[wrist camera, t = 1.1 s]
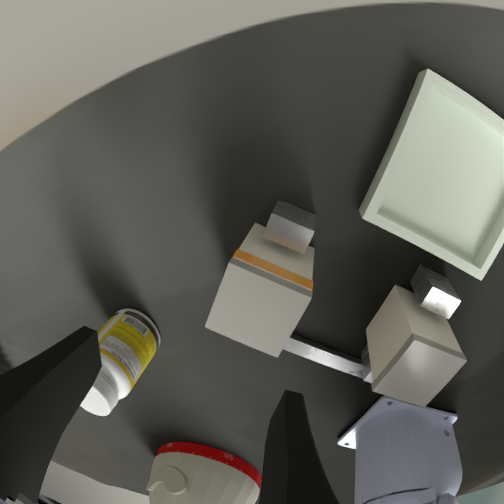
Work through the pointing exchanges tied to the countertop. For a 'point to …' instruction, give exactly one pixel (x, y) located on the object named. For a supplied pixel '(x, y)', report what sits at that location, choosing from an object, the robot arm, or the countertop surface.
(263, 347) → the white box with band
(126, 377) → the supplement bottle
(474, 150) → the tray
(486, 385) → the countertop surface
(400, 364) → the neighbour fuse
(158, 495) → the kitchen timer
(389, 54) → the countertop surface
